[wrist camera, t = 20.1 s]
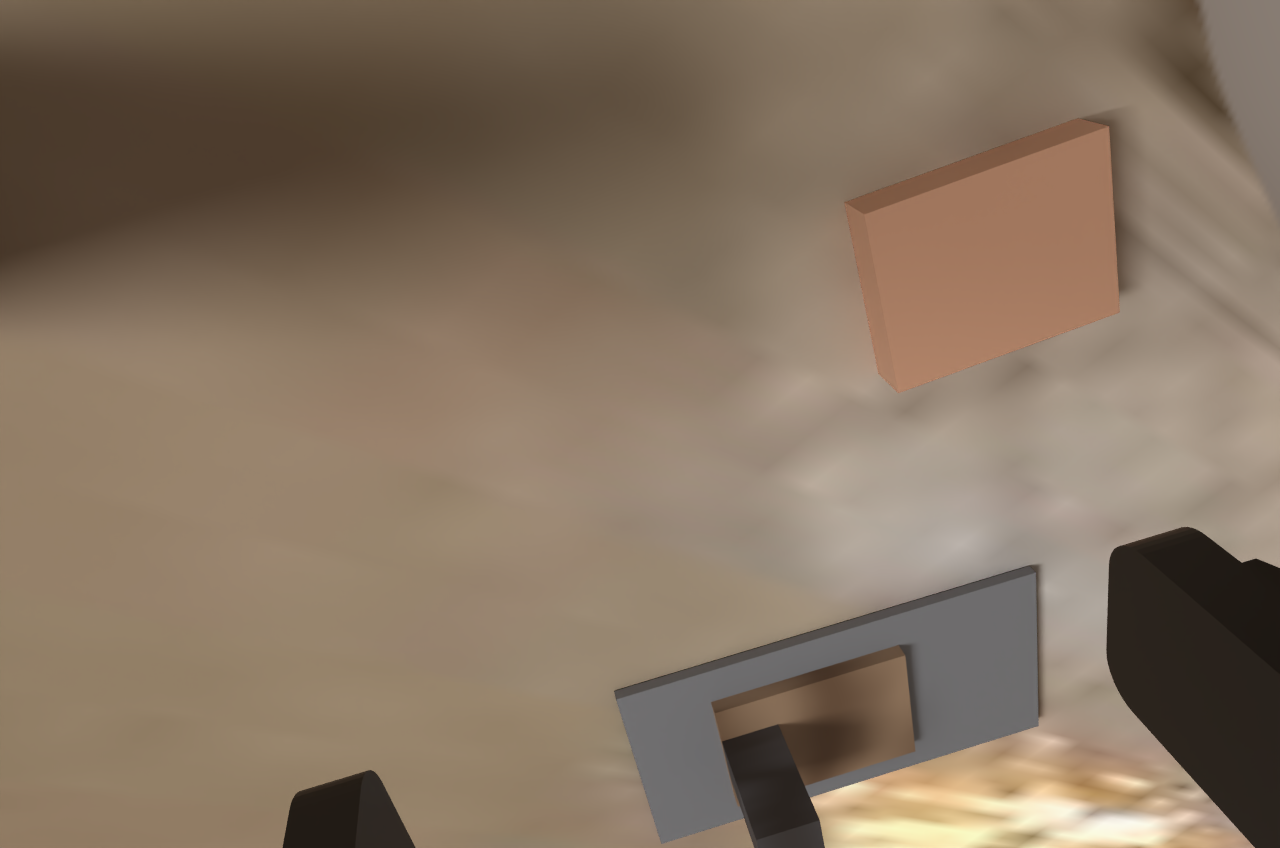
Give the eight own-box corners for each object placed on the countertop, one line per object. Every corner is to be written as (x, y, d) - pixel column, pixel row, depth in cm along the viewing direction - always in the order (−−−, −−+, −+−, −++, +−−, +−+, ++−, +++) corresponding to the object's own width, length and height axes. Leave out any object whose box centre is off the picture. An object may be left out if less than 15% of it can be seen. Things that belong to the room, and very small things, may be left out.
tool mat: (659, 834, 52) (661, 843, 51) (614, 691, 47) (616, 699, 46) (1032, 718, 53) (1038, 726, 53) (1029, 565, 48) (1035, 572, 47)
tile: (898, 393, 39) (1119, 312, 40) (864, 214, 36) (1109, 126, 36) (874, 370, 42) (1084, 293, 42) (840, 199, 38) (1071, 116, 38)
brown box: (733, 794, 51) (772, 908, 45) (710, 702, 47) (749, 810, 41) (909, 740, 51) (970, 844, 45) (898, 644, 48) (963, 743, 42)
